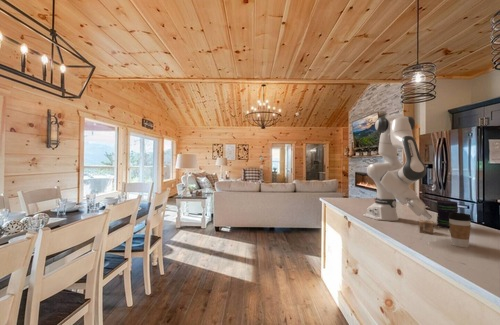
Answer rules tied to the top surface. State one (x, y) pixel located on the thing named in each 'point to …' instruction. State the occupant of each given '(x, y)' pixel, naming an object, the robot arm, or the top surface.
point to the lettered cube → (426, 226)
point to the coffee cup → (460, 229)
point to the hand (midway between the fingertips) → (430, 218)
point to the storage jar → (445, 212)
